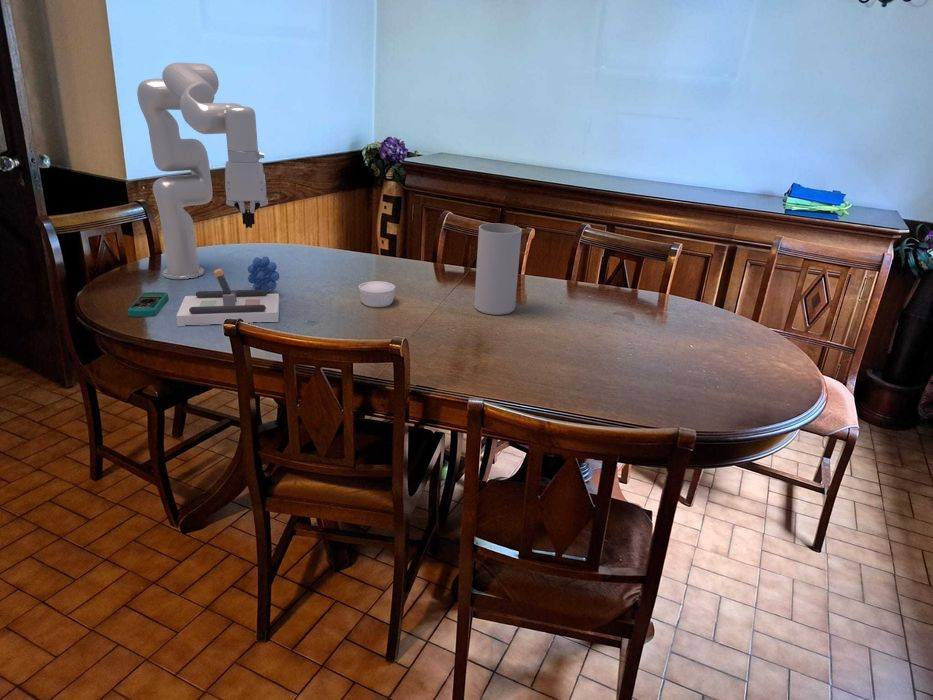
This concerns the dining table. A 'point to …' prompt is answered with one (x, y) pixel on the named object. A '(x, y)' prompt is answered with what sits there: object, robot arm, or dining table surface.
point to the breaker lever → (222, 281)
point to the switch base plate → (218, 318)
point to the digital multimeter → (148, 304)
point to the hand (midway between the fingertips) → (249, 226)
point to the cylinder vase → (497, 268)
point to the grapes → (263, 274)
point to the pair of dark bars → (229, 308)
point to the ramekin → (377, 293)
